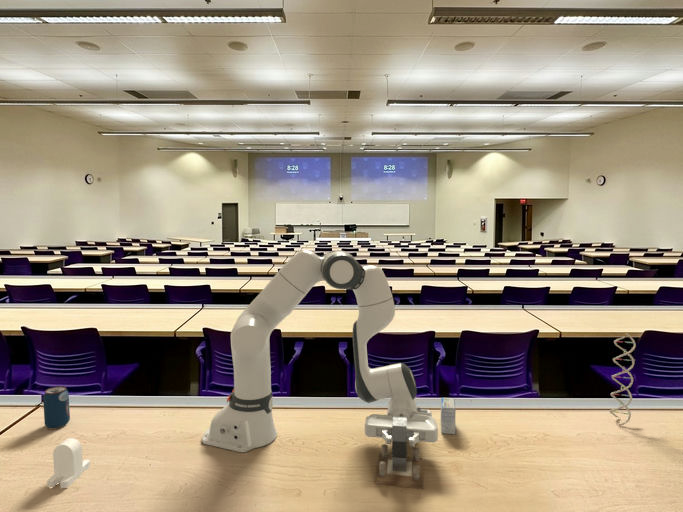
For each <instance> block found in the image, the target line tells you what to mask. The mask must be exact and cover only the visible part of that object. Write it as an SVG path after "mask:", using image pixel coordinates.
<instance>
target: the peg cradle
mask: <svg viewBox="0 0 683 512" xmlns="http://www.w3.org/2000/svg"><path fill="white" fill-rule="evenodd" d="M388 445H389V444H385V443H384V444H382V445H381V453H378V458H377V459H378V460H377V465H376V472H375V478H374V480H375V481H374V483H375V485H376V484H377V485H384V486H385V485H386V486H393V487H394V486H395V487H404V488H413V489H424V488H423V484H424V482H423V481H424V480H423V478H424V477H423V458H422V457H420V448H419V447H417V446H415V447H412V456H407V465H406V471H395V470H393V457H392V454H388V451H389V449H388V448H389V446H388Z"/></svg>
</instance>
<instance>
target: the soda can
mask: <svg viewBox="0 0 683 512" xmlns="http://www.w3.org/2000/svg"><path fill="white" fill-rule="evenodd" d="M42 400H43V419H44V421H43V422H44V426H46V428H48V429H49V428H57V429H60V428H59V427H61V428H63V427H65V426H67V425H66V424H69V422H70V420H71V414H70V410H71V409H70V399H69V391H68V389H67V387H66V386H64V385H63V386H62V385H58V386H52V387H50V388H47V389H46V390H44V395H43V396H42ZM64 425H65V426H64ZM62 426H63V427H62Z"/></svg>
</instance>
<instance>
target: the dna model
mask: <svg viewBox="0 0 683 512" xmlns="http://www.w3.org/2000/svg"><path fill="white" fill-rule="evenodd" d="M625 335H626V336H627V337H628V338H629V339H630V340H631V341H625V343H627V344H633V347H631V349H630V350H629V351H627V349H625V348H623V347H621V346H620V345H618V343H623V342H624V341H620V340H623V339H625V338H626V336H622V337H619V338H616V339H615V340H613V343H614V345H615V346H616V347H617V348H619V349H620V350H622V351H623V353H622V354H620V355H618V356H616V357H613V358H612V361H613V363H614V364H616V365H617V366H618V367H620V368H621V369H622V371H621V372H617V373H616V374H613V375H612V374H611V378H612V380H613V381H614V382H616V383H617V384H619V385H620V389H619V390H615V391H613V392H611V393H610V396H611V397H612V398H613V399H614V400H617V402H618V403H620V404H619V407H618V406H617V407H615V408H612V409H609V413H610V414H612V416H613V417H616V418H617V417H618V418H620V417H619V416H618V415H617V414H623V415H628V418H627V419H626V420H624V421H623V422H622V423H620V424H621V426H624V425H626V424H627V423H628V422H630V419H631V417H632V413H631V411H630V409H629V407H628V406H629V405H630V404H631V402H632V400H633V396H632V393H631V392H630V390H629V388H631V387H632V385H633V384H634V383H633V382H634V377H633V375H632V373H631V372H630V371H631V370H632V369H634V365H635V361H636V359H634V357H633V356H632V354H631V353H632V352H633V351H635V349H636V346H637V345H636V341H635V339H634V338H633V337H632V336H631V335H630V334H628V333H627V332H626V333H625ZM624 356H628V357H629V358H630V359H624V358H623V359H622V357H624ZM616 360H619V361H627V362H629V361H631V365H630V366H629V367H628V368H626V367H625V366H622V365H621V364H620V363H619V362H618V361H616ZM622 374H628V375H629V376H630V377H629V376H628V377H626V376H623V379H630V383H629V384H628V386H625V385H624V384H623V383H621V382H620V381H619V380H617V379H616V378H620V379H621V378H622V376H620V375H622ZM623 391H627V393H628V395H627V394H622V396H625V397H629V400H628V401H627V403H624V402H623V401H622V400H620V399H619V398H617V397H616V396H621V394H618V393H621V392H623ZM615 395H616V396H615ZM624 408H625V409H626V411H627V412H628V413H627V412H622V411H621V412H620V411H618V410H621V409H624ZM615 413H616V414H615ZM618 418H617V419H618Z"/></svg>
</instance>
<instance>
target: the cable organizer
mask: <svg viewBox="0 0 683 512" xmlns="http://www.w3.org/2000/svg"><path fill="white" fill-rule="evenodd" d="M82 447H83V446H82V444H81V442H80V441H79V440H78V439H77V438H74V437H69V438H68V437H67V438H66V439H64V440H63V441H62V442H61V443H60V444H58V445H57V446H56V447H55V448H53V452H52V453H53V454H52V458H53V472H54V473H53V475H52V476H51V477H49V478H48V479H47V480H46V481H47V483H46V484H47V488H48V487H54V486H55V485H56V484H57V483H60V484H59V485H60V486H59V487H60V488H59V489H61V488H67V487H69V486H70V485H71V484H72V483H73V482H74V481H75V480H76V479H77V478H78V477H79V476H80V475H81V474H82V473H83V472H84V471H85V470H87V469H88V468H89V467H90V468H91V465H90V464H91V461H90V459H84V460H83V448H82ZM90 468H89V469H90ZM89 469H88V470H89ZM88 470H87V471H88ZM83 474H84V473H83ZM83 474H82V475H83ZM82 475H81V476H82ZM81 476H80V477H81ZM80 477H79V478H80ZM79 478H78V479H79ZM78 479H77V480H78ZM77 480H76V481H77ZM76 481H75V482H76ZM75 482H74V483H75ZM74 483H73V484H74ZM73 484H72V485H73ZM72 485H71V486H72ZM71 486H70V487H71ZM55 487H56V486H55ZM55 487H54V488H55ZM70 487H69V488H70ZM67 489H68V488H67Z"/></svg>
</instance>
